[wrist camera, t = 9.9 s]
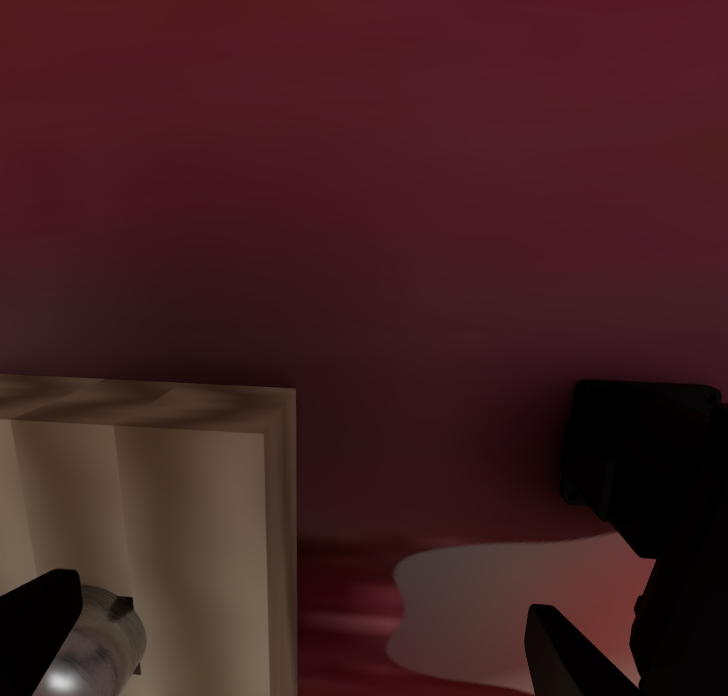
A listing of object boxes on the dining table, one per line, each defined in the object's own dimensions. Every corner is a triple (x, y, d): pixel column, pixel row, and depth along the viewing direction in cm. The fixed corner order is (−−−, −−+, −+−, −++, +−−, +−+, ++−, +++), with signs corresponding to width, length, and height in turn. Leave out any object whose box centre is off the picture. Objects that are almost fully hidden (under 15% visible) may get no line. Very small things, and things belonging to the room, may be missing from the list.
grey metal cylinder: (195, 516, 22) (91, 656, 14) (200, 593, 23) (106, 762, 16) (107, 510, 23) (-42, 644, 15) (116, 587, 24) (-18, 749, 16)
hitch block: (295, 388, 21) (263, 434, 15) (297, 696, 25) (272, 815, 20) (-2, 373, 22) (-131, 411, 16) (49, 674, 26) (-38, 782, 21)
